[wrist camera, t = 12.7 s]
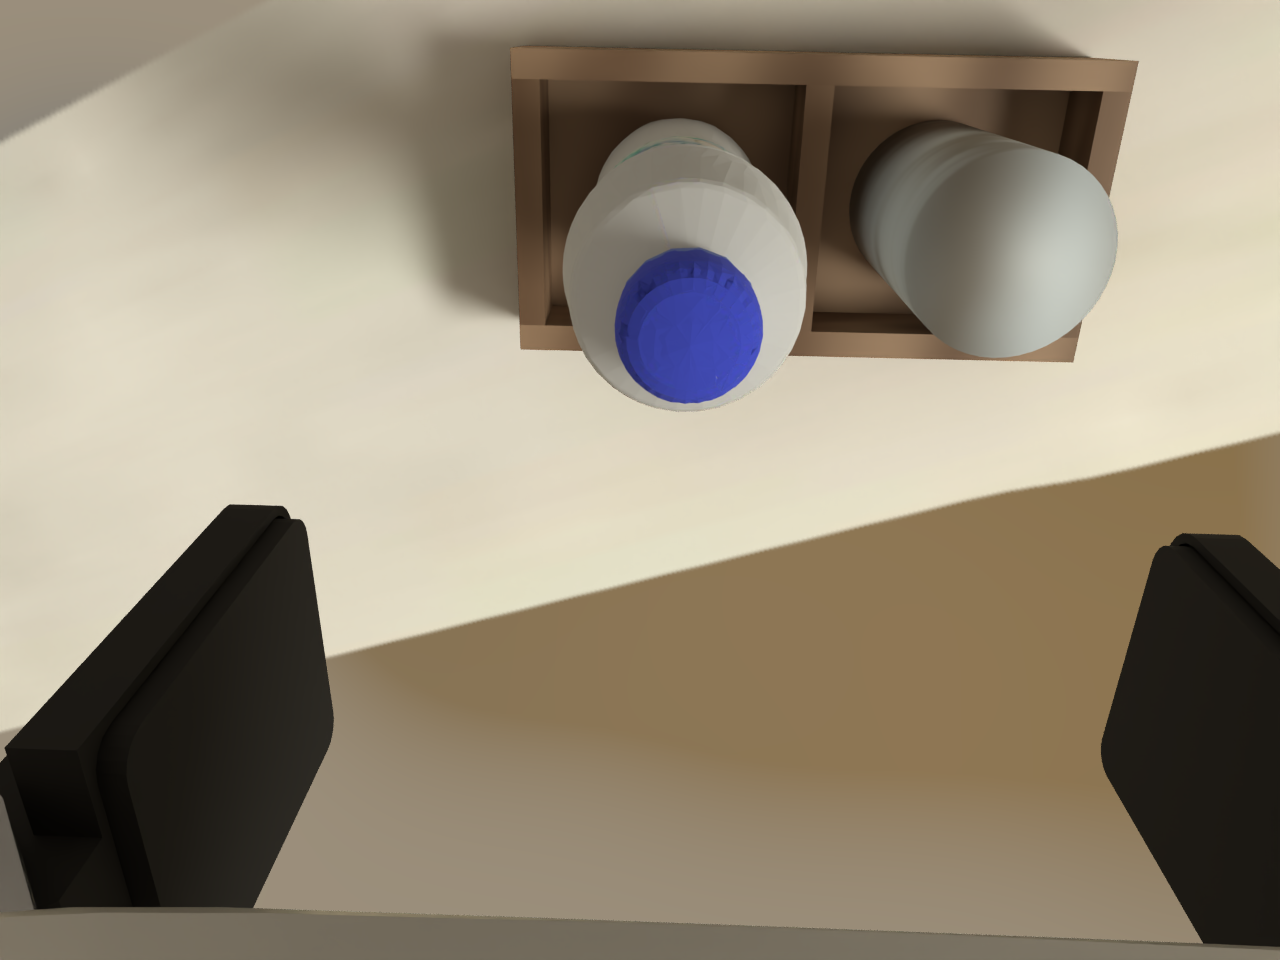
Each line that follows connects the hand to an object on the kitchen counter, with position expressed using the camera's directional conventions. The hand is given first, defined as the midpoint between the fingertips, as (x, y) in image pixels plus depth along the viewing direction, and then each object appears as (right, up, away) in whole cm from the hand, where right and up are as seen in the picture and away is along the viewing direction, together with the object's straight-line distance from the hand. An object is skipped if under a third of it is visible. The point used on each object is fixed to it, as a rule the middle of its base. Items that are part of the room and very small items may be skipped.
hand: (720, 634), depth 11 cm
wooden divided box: (+6, +13, +29) cm, 33 cm away
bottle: (+1, +13, +28) cm, 31 cm away
